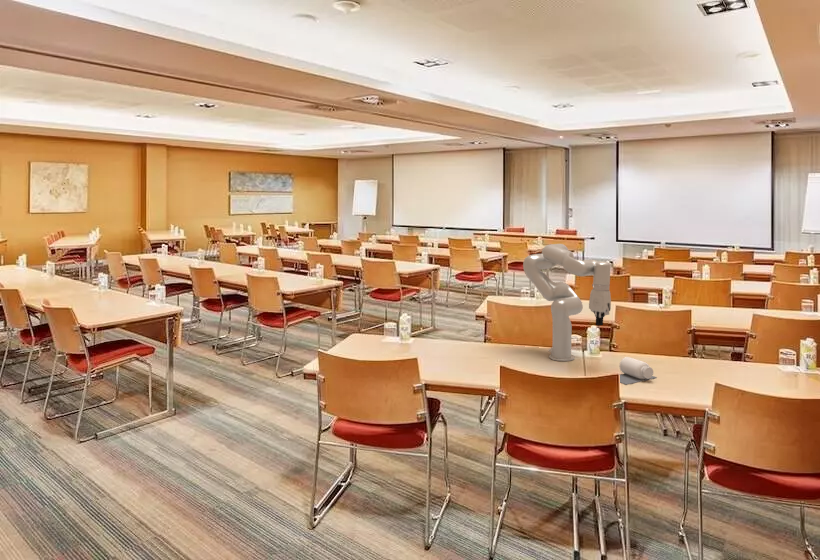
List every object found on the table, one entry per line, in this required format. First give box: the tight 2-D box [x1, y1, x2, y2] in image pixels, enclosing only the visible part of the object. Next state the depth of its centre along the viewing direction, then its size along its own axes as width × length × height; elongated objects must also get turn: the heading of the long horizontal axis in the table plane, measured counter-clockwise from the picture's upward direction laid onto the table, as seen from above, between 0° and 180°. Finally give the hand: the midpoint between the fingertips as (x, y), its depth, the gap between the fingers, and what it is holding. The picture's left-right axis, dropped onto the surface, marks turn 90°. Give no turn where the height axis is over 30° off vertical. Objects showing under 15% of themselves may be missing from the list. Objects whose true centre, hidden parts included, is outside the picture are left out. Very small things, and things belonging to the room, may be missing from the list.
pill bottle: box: [619, 356, 654, 379], centre depth 269 cm, size 8×8×15 cm
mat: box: [619, 373, 658, 386], centre depth 269 cm, size 12×20×1 cm, turn 119°
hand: (599, 325), depth 284 cm, fingers closed
